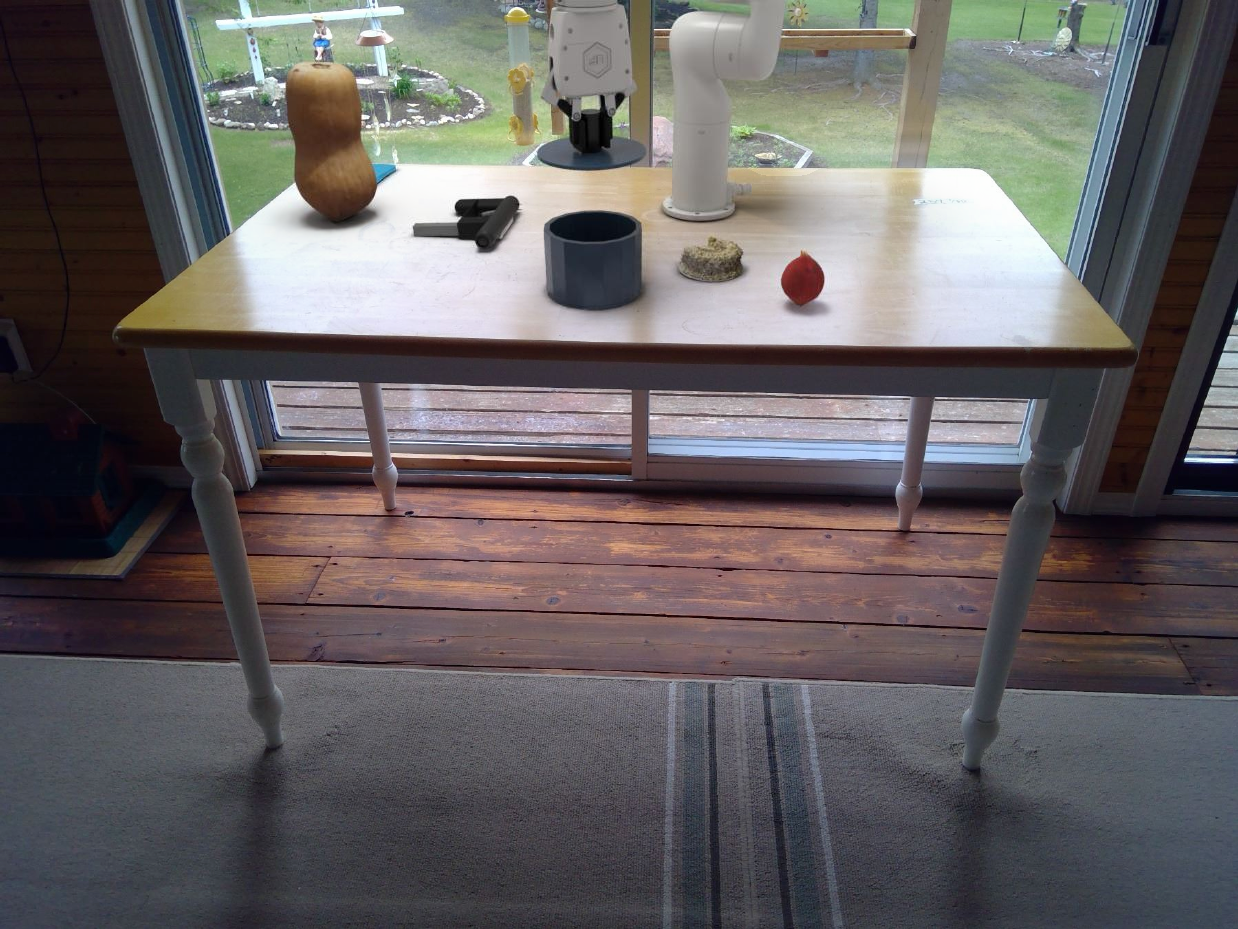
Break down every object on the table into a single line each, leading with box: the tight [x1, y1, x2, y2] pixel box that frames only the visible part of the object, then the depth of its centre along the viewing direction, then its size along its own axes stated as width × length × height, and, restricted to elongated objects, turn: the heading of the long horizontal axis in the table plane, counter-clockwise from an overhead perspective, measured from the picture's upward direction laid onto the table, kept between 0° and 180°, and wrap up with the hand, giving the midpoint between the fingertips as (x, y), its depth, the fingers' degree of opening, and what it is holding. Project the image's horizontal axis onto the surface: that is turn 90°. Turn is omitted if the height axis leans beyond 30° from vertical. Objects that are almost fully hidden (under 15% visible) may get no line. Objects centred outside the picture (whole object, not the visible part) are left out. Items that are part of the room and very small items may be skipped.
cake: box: [677, 235, 744, 283], centre depth 140 cm, size 10×10×5 cm
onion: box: [780, 249, 826, 307], centre depth 128 cm, size 6×6×8 cm
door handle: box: [412, 195, 524, 250], centre depth 157 cm, size 3×20×16 cm
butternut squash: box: [284, 61, 378, 223], centre depth 156 cm, size 14×13×25 cm
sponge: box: [372, 163, 397, 184], centre depth 182 cm, size 2×12×6 cm
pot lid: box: [536, 108, 647, 172], centre depth 124 cm, size 15×15×6 cm
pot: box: [543, 209, 643, 311], centre depth 133 cm, size 14×14×10 cm
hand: (591, 146), depth 125 cm, fingers closed on pot lid, 2 cm apart
